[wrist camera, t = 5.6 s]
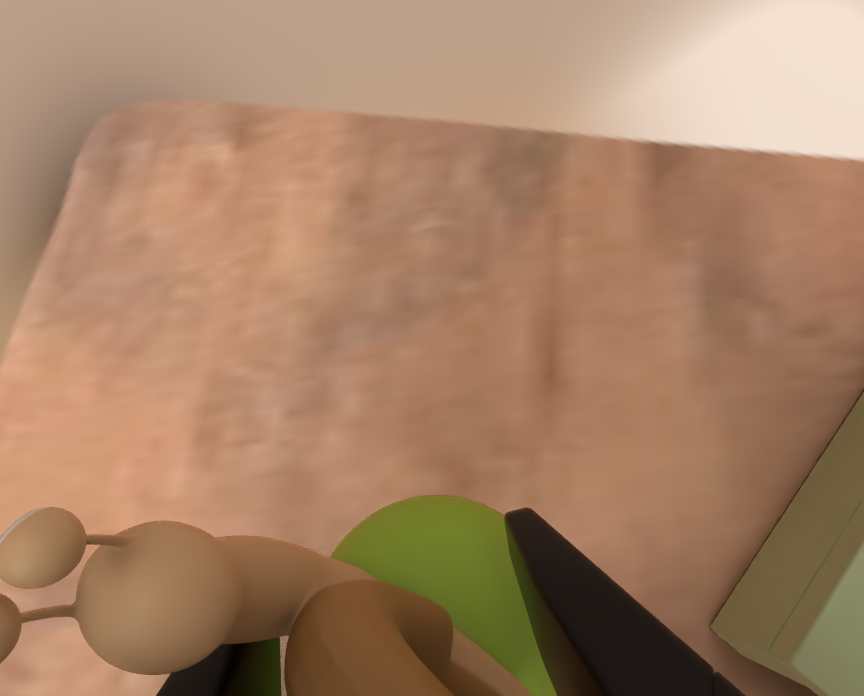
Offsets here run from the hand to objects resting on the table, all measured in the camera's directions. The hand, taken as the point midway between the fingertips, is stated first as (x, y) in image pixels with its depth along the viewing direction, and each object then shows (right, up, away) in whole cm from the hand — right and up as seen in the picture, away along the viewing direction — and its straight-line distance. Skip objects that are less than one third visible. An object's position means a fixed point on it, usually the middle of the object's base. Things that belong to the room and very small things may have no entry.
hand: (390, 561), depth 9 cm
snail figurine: (0, -3, +6) cm, 7 cm away
